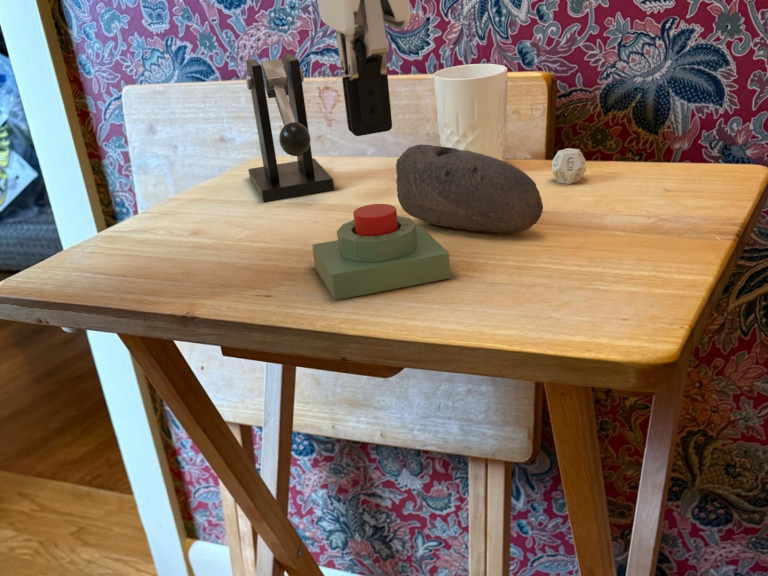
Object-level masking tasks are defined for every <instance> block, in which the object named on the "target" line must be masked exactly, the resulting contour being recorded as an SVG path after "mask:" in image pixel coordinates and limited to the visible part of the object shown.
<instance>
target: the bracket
mask: <svg viewBox="0 0 768 576" xmlns="http://www.w3.org/2000/svg"><path fill="white" fill-rule="evenodd" d="M282 62H283V65H284V68H285V71H286V74H287V81H288V96H287V98H288V101H289V104H290V107H291V110H292V113H293V116H294V119H295V122H297V123H300V124H302V125H303V126H305V127H306V129H307V130H308V132H309V133H310V131H309V124H308V117H307V111H306V102H305V95H304V88H303V82H304V79H305V78H304V71H303V68H302V67H301V65H300V59H298V58H297V57H296V56H294V54H293V53H287V54H282ZM245 64H246V70H247V74H246V75H245V82H246V87H247V90H249V91H250V93H251V99H252V100H251V101H252V105H253V111H254V118H255V123H256V129H257V136H258V142H259V147H260V153H261V160H262V165H263V166H258V167H253V168H251V167H250V168H248V170H247V171H248V175H249V180H250V182H251V183H252V185H253V186H254V189H255V190H256V191H257V193H258V195H259V196H260V198H261V200H262V201H263V202H264V203H265V202H270V201H276V200H283V199H287V198H289V199H290V198H294V197H299V196H306V195H313V194H317V193H324V192H329V191H335V184H334V179H333V177H332V176H331V174H329V173H328V172H327V170H325V169H324V167H323V166H322V165H321V164H320V163H319V162H318V161H317V160H316V158H313V153H312V148H311V147H312V146H311V144H310V146H309V148H308V150H307V151H306V152H305V153H304V154H302V155H300V156H296V158H297V159H296V160H295V161H289V162H283V163H278V162H277V161H278V160H277V155H276V151H275V150H276V149H275V143H274V137H273V130H272V124H271V118H270V111H269V106H268V100H267V98H268V97H267V92H266V89H265V86H264V79H263V73H262V66H261V63H260V62H258V60H256V59H255V58H252V59H246V60H245Z"/></svg>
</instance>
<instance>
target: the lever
mask: <svg viewBox="0 0 768 576" xmlns="http://www.w3.org/2000/svg"><path fill="white" fill-rule="evenodd" d="M260 65H261V67H262V73H263V79H264V86H265V92H266V96H267V98H268V99H275V101H276V106H277V109H278V112H279V114H280V118H281V122H282V124H283V127H282V128H281V129H280V132H279V135H278V136H279V137H278V138H279V139H278V141H279V144H280V147H281V149H282V150H283V151H284V153H286V154H287V155H289V156H292V157H297V156H300V155H302V154H304V153H305V152H306V151H307V150H308V148H309V146H310V145H311V135H310V131H309V129H308V130H307V129H306V127H305V126H303V125H302V124H300V123H297V122H295V119H294V116H293V113H292V110H291V107H290V104H289V97H288V81H287V74H286V71H285V68H284V63H283V59H282V58H275V59H270V60H262V61H261V62H260ZM308 131H309V132H308Z"/></svg>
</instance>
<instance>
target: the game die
mask: <svg viewBox="0 0 768 576" xmlns="http://www.w3.org/2000/svg"><path fill="white" fill-rule="evenodd" d="M550 164H551V173H552V174H553V176H554V178H555V180H556V181H557V183H558V184H565V185H571V184H574V183H575V184H576V183H578V182H580V181H581V179H582V178H583V176H584V175H585V173H586V171H587V163H586V159H585V157H584V155H583V153H582V151H581V149H580V148H571V147H568V148H564V149H559V150H557V152H556V154H555V156H554V157H553V159H552V160H551V163H550Z"/></svg>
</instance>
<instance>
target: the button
mask: <svg viewBox="0 0 768 576" xmlns="http://www.w3.org/2000/svg"><path fill="white" fill-rule="evenodd" d="M352 215H353V220H354V224H355V233H356V234H357V235H361V236H380V235H385V234H390V233H392V232H395V231H397V230H398V222H397V215H398V210H397V207H396V206H395V205H392V204H389V203H373V204H367V205H363V206H360V207H358V208H356V209H354V210H353V213H352Z"/></svg>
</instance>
